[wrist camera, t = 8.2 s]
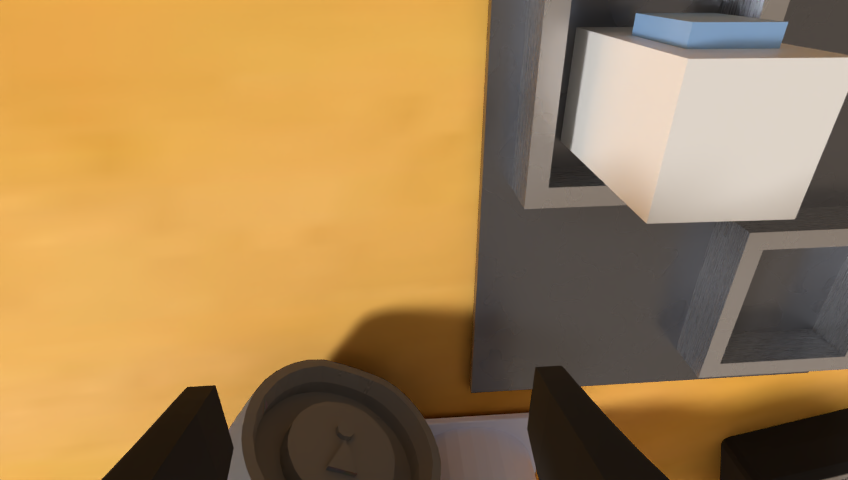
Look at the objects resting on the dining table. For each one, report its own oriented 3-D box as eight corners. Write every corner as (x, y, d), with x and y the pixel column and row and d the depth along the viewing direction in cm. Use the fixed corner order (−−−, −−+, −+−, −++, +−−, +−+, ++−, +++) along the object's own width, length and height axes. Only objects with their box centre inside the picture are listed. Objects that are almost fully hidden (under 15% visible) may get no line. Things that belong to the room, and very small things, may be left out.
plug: (661, 139, 19) (794, 219, 13) (560, 140, 19) (646, 223, 12) (694, 7, 17) (874, 27, 10) (579, 7, 16) (695, 28, 10)
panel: (801, 365, 26) (839, 401, 24) (469, 385, 25) (477, 424, 23) (1017, -76, 16) (1113, -84, 14) (492, -74, 15) (510, -81, 13)
